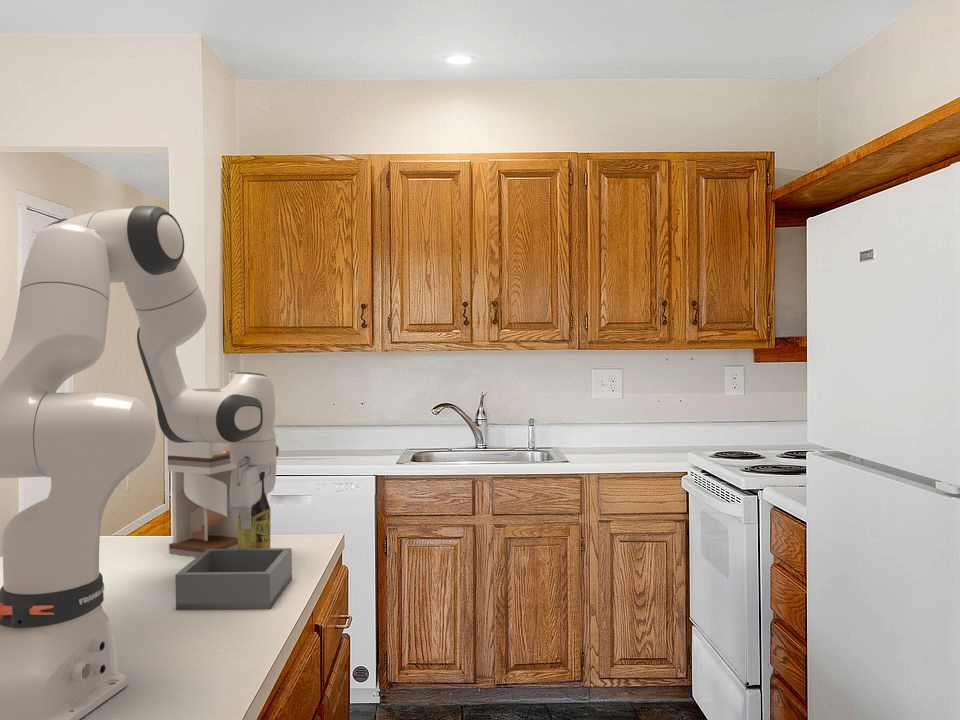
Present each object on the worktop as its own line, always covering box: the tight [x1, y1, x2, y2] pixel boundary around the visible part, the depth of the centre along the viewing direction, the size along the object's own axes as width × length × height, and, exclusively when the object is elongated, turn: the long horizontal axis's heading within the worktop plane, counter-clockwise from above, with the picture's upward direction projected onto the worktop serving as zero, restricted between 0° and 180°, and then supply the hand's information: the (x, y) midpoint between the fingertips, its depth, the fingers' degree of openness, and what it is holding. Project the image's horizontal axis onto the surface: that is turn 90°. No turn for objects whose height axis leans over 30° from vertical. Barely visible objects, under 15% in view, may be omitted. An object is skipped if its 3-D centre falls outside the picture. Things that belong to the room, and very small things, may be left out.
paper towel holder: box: [166, 387, 239, 558], centre depth 167 cm, size 11×11×35 cm
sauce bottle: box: [238, 472, 271, 549], centre depth 154 cm, size 6×6×20 cm
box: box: [174, 547, 293, 611], centre depth 139 cm, size 16×16×6 cm
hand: (253, 522), depth 154 cm, fingers open, 8 cm apart
